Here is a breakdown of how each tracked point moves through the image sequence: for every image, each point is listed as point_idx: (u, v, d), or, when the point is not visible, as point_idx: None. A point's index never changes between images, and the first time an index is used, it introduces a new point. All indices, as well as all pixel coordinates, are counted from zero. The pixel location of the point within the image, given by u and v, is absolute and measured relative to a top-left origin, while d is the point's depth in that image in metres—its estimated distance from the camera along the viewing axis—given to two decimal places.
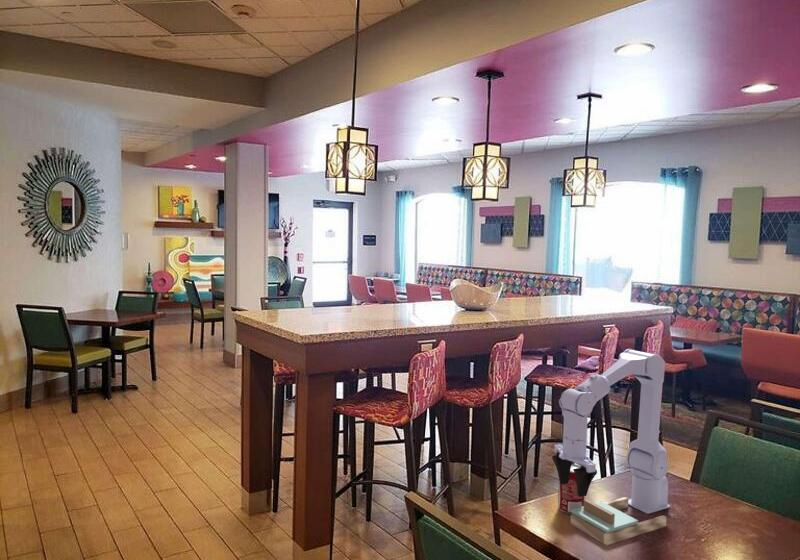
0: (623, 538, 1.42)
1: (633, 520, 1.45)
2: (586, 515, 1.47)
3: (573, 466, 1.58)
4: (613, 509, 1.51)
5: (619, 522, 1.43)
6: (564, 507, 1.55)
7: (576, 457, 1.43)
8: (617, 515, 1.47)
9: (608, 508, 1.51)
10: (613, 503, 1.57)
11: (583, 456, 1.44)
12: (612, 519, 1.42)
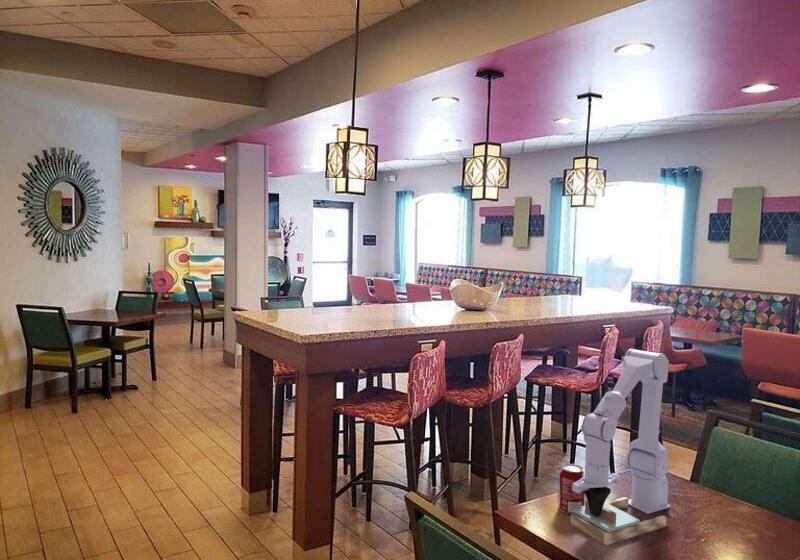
0: (623, 538, 1.42)
1: (635, 520, 1.45)
2: (588, 515, 1.47)
3: (573, 466, 1.58)
4: (614, 508, 1.51)
5: (621, 522, 1.44)
6: (564, 507, 1.55)
7: (585, 478, 1.45)
8: (619, 515, 1.47)
9: (609, 507, 1.51)
10: (613, 503, 1.57)
11: (591, 481, 1.43)
12: (614, 519, 1.43)
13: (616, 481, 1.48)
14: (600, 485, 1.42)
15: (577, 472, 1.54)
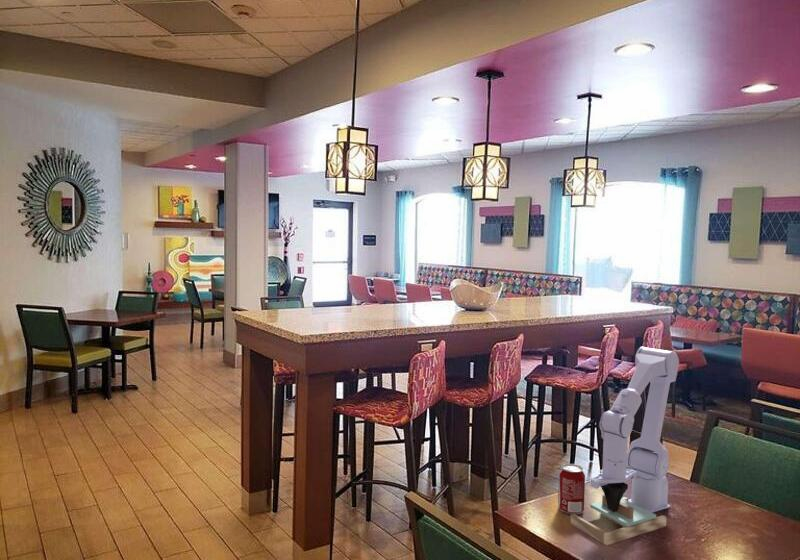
0: (623, 538, 1.42)
1: (651, 514, 1.48)
2: (605, 510, 1.50)
3: (573, 466, 1.58)
4: (631, 504, 1.54)
5: (638, 516, 1.47)
6: (564, 507, 1.55)
7: (603, 474, 1.48)
8: (635, 510, 1.50)
9: (626, 503, 1.54)
10: None
11: (608, 476, 1.46)
12: (631, 513, 1.46)
13: (633, 477, 1.50)
14: (618, 481, 1.45)
15: (577, 472, 1.54)
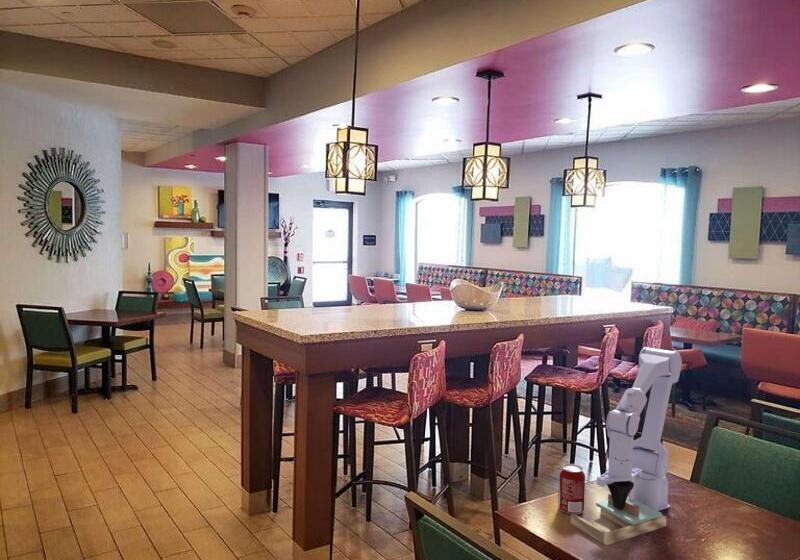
0: (623, 538, 1.42)
1: (657, 513, 1.49)
2: (611, 508, 1.51)
3: (573, 466, 1.58)
4: (636, 502, 1.55)
5: (644, 515, 1.48)
6: (564, 507, 1.55)
7: (609, 472, 1.49)
8: (641, 508, 1.51)
9: (632, 501, 1.55)
10: None
11: (614, 475, 1.47)
12: (637, 512, 1.47)
13: (639, 475, 1.51)
14: (624, 479, 1.46)
15: (577, 472, 1.54)
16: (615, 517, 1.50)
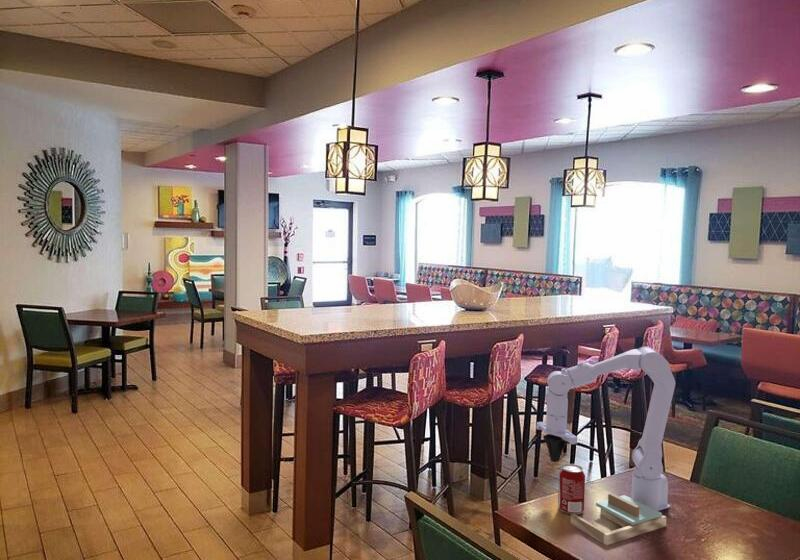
0: (623, 538, 1.42)
1: (657, 513, 1.49)
2: (611, 508, 1.51)
3: (573, 466, 1.58)
4: (636, 502, 1.55)
5: (644, 515, 1.48)
6: (564, 507, 1.55)
7: (559, 431, 1.61)
8: (641, 508, 1.51)
9: (632, 501, 1.55)
10: None
11: (565, 430, 1.62)
12: (637, 512, 1.47)
13: None
14: None
15: (577, 472, 1.54)
16: (615, 517, 1.50)
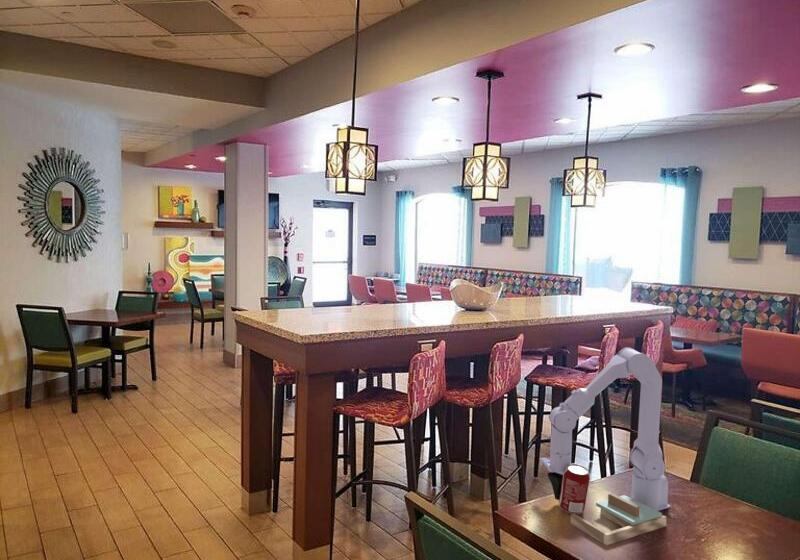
0: (623, 538, 1.42)
1: (657, 513, 1.49)
2: (611, 508, 1.51)
3: (578, 466, 1.57)
4: (636, 502, 1.55)
5: (644, 515, 1.48)
6: (565, 506, 1.54)
7: (563, 469, 1.58)
8: (641, 508, 1.51)
9: (632, 501, 1.55)
10: None
11: None
12: (637, 512, 1.47)
13: None
14: None
15: (582, 475, 1.52)
16: (615, 517, 1.50)
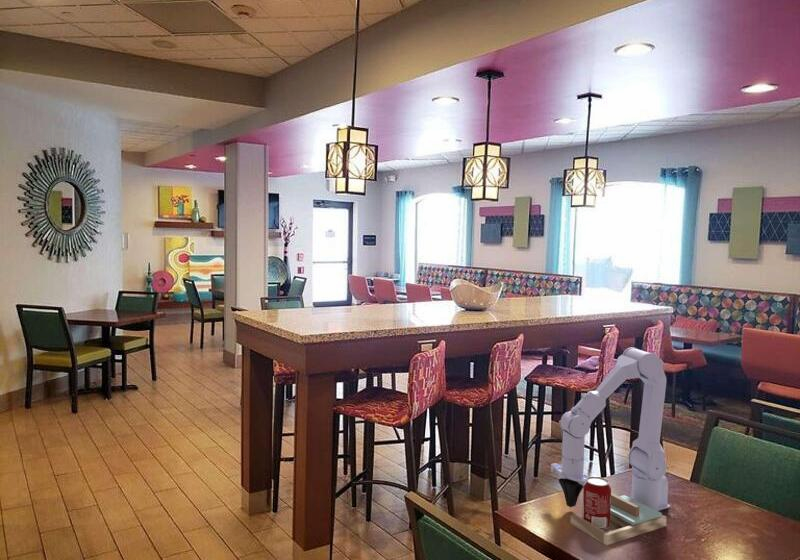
0: (623, 538, 1.42)
1: (657, 513, 1.49)
2: (611, 508, 1.51)
3: (599, 479, 1.50)
4: (636, 502, 1.55)
5: (644, 515, 1.48)
6: (588, 521, 1.47)
7: (576, 476, 1.54)
8: (641, 508, 1.51)
9: (632, 501, 1.55)
10: None
11: (581, 474, 1.54)
12: (637, 512, 1.47)
13: None
14: None
15: (601, 486, 1.45)
16: (615, 517, 1.50)
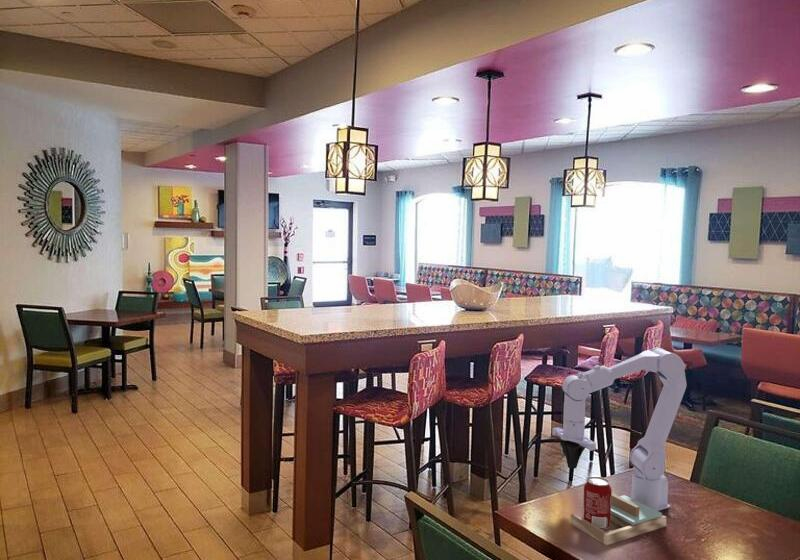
0: (623, 538, 1.42)
1: (657, 513, 1.49)
2: (611, 508, 1.51)
3: (599, 479, 1.50)
4: (636, 502, 1.55)
5: (644, 515, 1.48)
6: (588, 521, 1.47)
7: (577, 438, 1.57)
8: (641, 508, 1.51)
9: (632, 501, 1.55)
10: None
11: (582, 436, 1.58)
12: (637, 512, 1.47)
13: None
14: None
15: (602, 485, 1.45)
16: (615, 517, 1.50)
